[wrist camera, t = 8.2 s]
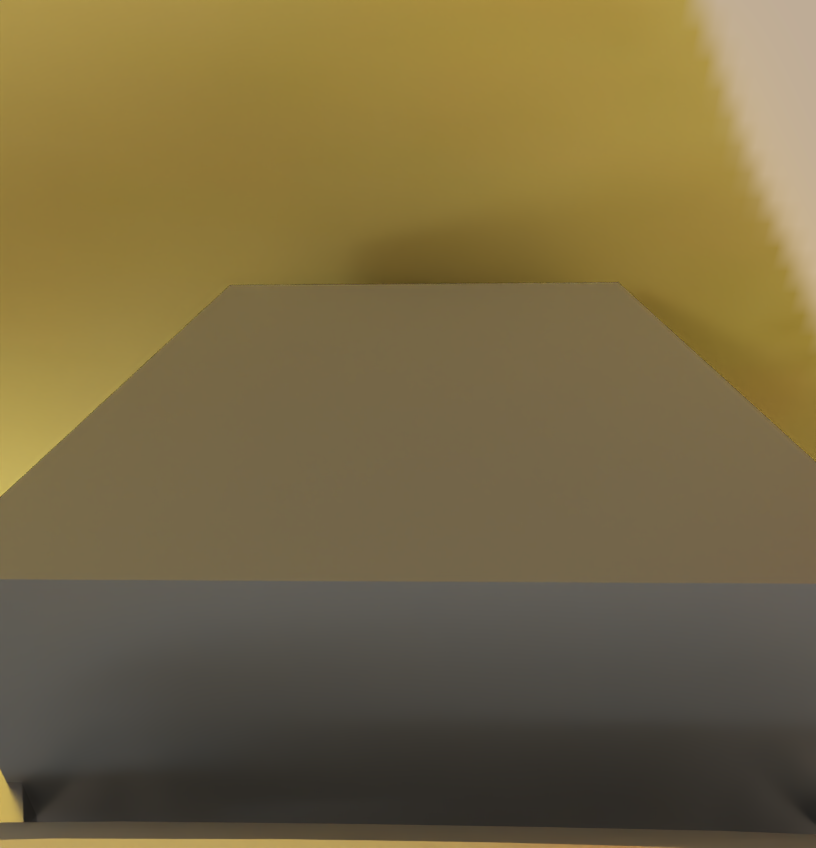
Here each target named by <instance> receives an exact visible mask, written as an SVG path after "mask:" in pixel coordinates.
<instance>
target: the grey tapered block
mask: <svg viewBox="0 0 816 848" xmlns="http://www.w3.org/2000/svg"><path fill="white" fill-rule="evenodd" d="M0 769H1V772H2V774H3V776H4V778H5V780H6V782H22V784H23V786H24V788H25V791H26V793H27V795H28V797H29V800H30V802H31V804H32V806H33V808H34V811H35V813H36V815H37V822H114V821H129V822H229V823H321V824H389V825H452V826H512V827H564V828H610V829H657V830H703V831H739V832H764V833H790V834H816V462H815V461H814V460H813V459H812V458H811V457H810V456H808V455H807V454H806V453H805V452H804V451H803V450H802V449H801V448H800V447H799V446H797V445H796V444H795V443H794V442H793V441H792V440H791V439H790V438H789V437H788V436H786V435H785V434H784V433H783V432H782V431H781V430H780V429H779V428H778V427H777V426H776V425H774V424H773V423H772V422H771V421H770V420H769V419H768V418H767V417H766V416H765V415H763V414H762V413H761V412H760V411H759V410H758V409H757V408H756V407H755V406H754V405H752V404H751V403H750V402H749V401H748V400H747V399H746V398H745V397H744V396H743V395H741V394H740V393H739V392H738V391H737V390H736V389H735V388H734V387H733V386H732V385H730V384H729V383H728V382H727V381H726V380H725V379H724V378H723V377H722V376H721V375H719V374H718V373H717V372H716V371H715V370H714V369H713V368H712V367H711V366H710V365H708V364H707V363H706V362H705V361H704V360H703V359H702V358H701V357H700V356H699V355H697V354H696V353H695V352H694V351H693V350H692V349H691V348H690V347H689V346H688V345H686V344H685V343H684V342H683V341H682V340H681V339H680V338H679V337H678V336H677V335H675V334H674V333H673V332H672V331H671V330H670V329H669V328H668V327H667V326H666V325H664V324H663V323H662V322H661V321H660V320H659V319H658V318H657V317H656V316H655V315H653V314H652V313H651V312H650V311H649V310H648V309H647V308H646V307H645V306H644V305H642V304H641V303H640V302H639V301H638V300H637V299H636V298H635V297H634V296H633V295H631V294H630V293H629V292H628V291H627V290H626V289H625V288H624V287H623V286H622V285H621V284H619V283H618V282H600V283H456V284H312V285H230V286H228V287H227V288H226V289H225V290H224V291H223V292H222V293H221V294H220V295H219V296H218V297H217V298H215V299H214V300H213V301H212V302H211V303H210V304H209V305H208V306H207V307H206V308H205V309H204V310H202V311H201V312H200V313H199V314H198V315H197V316H196V317H195V318H194V319H193V320H192V321H191V322H189V323H188V324H187V325H186V326H185V327H184V328H183V329H182V330H181V331H180V332H179V333H178V334H176V335H175V336H174V337H173V338H172V339H171V340H170V341H169V342H168V343H167V344H166V345H165V346H163V347H162V348H161V349H160V350H159V351H158V352H157V353H156V354H155V355H154V356H153V357H152V358H150V359H149V360H148V361H147V362H146V363H145V364H144V365H143V366H142V367H141V368H140V369H139V370H137V371H136V372H135V373H134V374H133V375H132V376H131V377H130V378H129V379H128V380H127V381H126V382H124V383H123V384H122V385H121V386H120V387H119V388H118V389H117V390H116V391H115V392H114V393H113V394H111V395H110V396H109V397H108V398H107V399H106V400H105V401H104V402H103V403H102V404H101V405H100V406H98V407H97V408H96V409H95V410H94V411H93V412H92V413H91V414H90V415H89V416H88V417H87V418H85V419H84V420H83V421H82V422H81V423H80V424H79V425H78V426H77V427H76V428H75V429H74V430H72V431H71V432H70V433H69V434H68V435H67V436H66V437H65V438H64V439H63V440H62V441H61V442H59V443H58V444H57V445H56V446H55V447H54V448H53V449H52V450H51V451H50V452H49V453H48V454H46V455H45V456H44V457H43V458H42V459H41V460H40V461H39V462H38V463H37V464H36V465H35V466H33V467H32V468H31V469H30V470H29V471H28V472H27V473H26V474H25V475H24V476H23V477H22V478H20V479H19V480H18V481H17V482H16V483H15V484H14V485H13V486H12V487H11V488H10V489H9V490H7V491H6V492H5V493H4V494H3V495H2V496H1V497H0Z"/></svg>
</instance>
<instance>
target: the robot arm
mask: <svg viewBox="0 0 816 848" xmlns="http://www.w3.org/2000/svg"><path fill="white" fill-rule="evenodd" d="M0 848H816V834H790V833H764V832H739V831H703V830H657V829H610V828H564V827H512V826H452V825H389V824H321V823H229V822H129V821H114V822H37V815H36V813H35V811H34V808H33V806H32V804H31V802H30V800H29V797H28V795H27V793H26V791H25V788H24V786H23V784H22V782H6V780H5V778H4V776H3V774H2V772H1V769H0Z"/></svg>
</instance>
